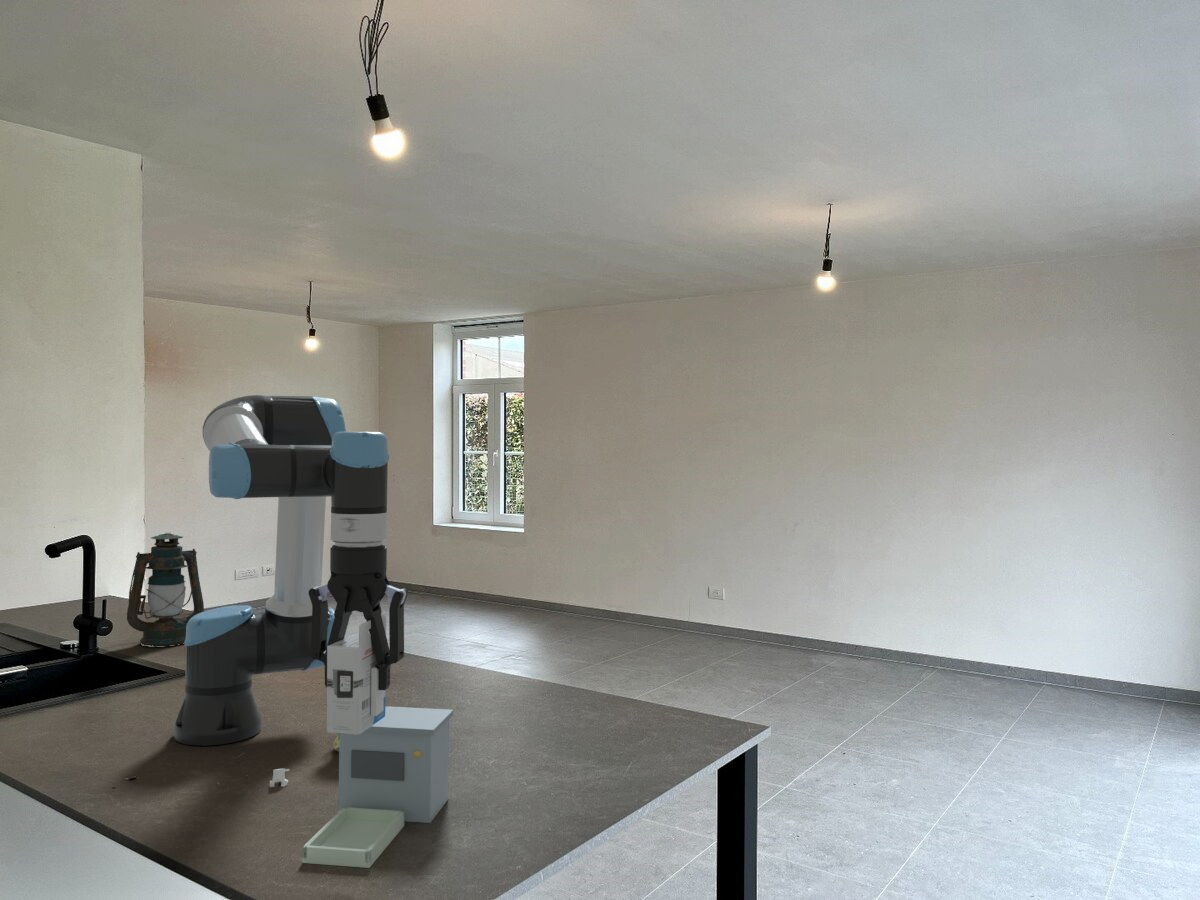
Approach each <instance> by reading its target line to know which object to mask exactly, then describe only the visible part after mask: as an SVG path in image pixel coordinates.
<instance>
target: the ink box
mask: <svg viewBox="0 0 1200 900" xmlns="http://www.w3.org/2000/svg"><path fill="white" fill-rule="evenodd" d="M381 617H382V621H383V625H384V629H385V633H386V634H387V615H386V614H385V613H383V614H381ZM370 628H371V620H369V621H365V622H362V623H360V624H359V626H358V632H356V633H353V634H352V635H350V636H347V637H344V639H343V640H340V641H338V642H336V643H334V644H331V645H329V646H327V688H326V732H327V733H331V734H332V733H333V734H337V733H343V734H355V735H358V734H361V733H362V732H364V731H365V730H367V729H368V728H370V727H371V726H372V725H374V724H375V723H377V722H378V721H379V720H381V719H382V718H384V717H385V706H386V696H387V695H386V694H387V693H386V692H387V691H386V690H387V689H386V690H384V710H383V711H382V712H381V713H380V714H378V715H377V716H371V668H372V667H374V666H375V665H377V662H376V658H375V654H374V650H373V646H372V642H371V634H370V633H369V629H370Z"/></svg>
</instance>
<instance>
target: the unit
mask: <svg viewBox="0 0 1200 900" xmlns="http://www.w3.org/2000/svg"><path fill="white" fill-rule="evenodd" d="M453 716H454V709H448V708H446V709H445V708H430V707H429V708H428V707H427V708H423V707H408V706H406V707H405V706H387V705H385V717H384V718H382V719H381V720H379V721H378V722H377V723H375V724H374V725H372V726H371V727H370V728H368V729H367V730H365V731H364V732H362V733H361V734H358V735H355V734H343V733H339V751H338V812H339V811H340V810H341V809H342V808H343V807H352V808H367V809H382V810H396V811H404V822H409V823H424V824H431V823H432V821H433V820H434V819H435V817H436V816H437V815H438V813H439V812H440V811H441V810H442V808H443V807H444V805H445V804H446V803H447V802H448V800H449V790H450V789H449V788H450V786H449V785H450V782H449V780H450V777H449V776H450V773H449V771H450V767H449V765H450V719H451V718H452V717H453Z"/></svg>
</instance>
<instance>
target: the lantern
mask: <svg viewBox="0 0 1200 900" xmlns="http://www.w3.org/2000/svg"><path fill="white" fill-rule="evenodd" d="M182 538H184V536H182V535H178V534H173V533H171V532H165V533H163V534H158V535H155V536H151V537H150V539H153V540H155V542H154V544H153V545H154V546H152V547H150V552H146V553H140V551H137V554H136V556H135V558H136V560H135V564H134V568H133V570H132V571H133V572H132V576H131V581H130V586H129V592H128V606H127V610H126V621H127V622H128V625H129V626H130V627H131V628H132V629H134V630H136V631H139V632H142V634H143V635H142V637H141V638H140V641H139V644H140V643H142V644H144V645H151V646H152V645H153V646H170V645H178V644H183V643H184V642H185V640H186V626H187V623H188V621H189V620H190V619H191V618H192V617H193V616H195V615H197V614H199V613H201V612H204V611H205V607H204V606H205V605H204V599H203V598H204V597H203V593H202V587H201V583H200V576H199V568H198V561H197V553H198V552H197V551H196V549H195V548H192V549H191V550H183V546H181V545H180V542H179V539H182ZM167 540H168V541H167ZM185 562H186V565H185ZM147 565H148V566H147ZM183 568H187V573H188V579H189V584H190V585H189V587H190V593H189V597H188V600H187V601H186V603H185V598H186V589H187V586H185V585H186V584H185V583H186V580H185V575H183V574H182V569H183ZM146 570H151V572H152V575H150V576H149V577H148V579H147V580H148V581H147V585H148V588H146V591H147V595H144V594H143V595H142V592H143V586H144V580H145V575H146ZM191 597H192V602H193V603H192V604H193V612H189V613H184V612H183V611H184V610H183V608H184V607H185V606H186V605H187V604H188V603H189V602H190V601H191ZM146 598H147V605H148V607H149V611H146V610H145V604H146V603H145V602H146ZM143 614H144V617H145V619H147V620H148V619H149V620H150V619H151V618H156V619H157V620H155V621H152V622H151V621H149V622H148V621H144V620H142V619H140V618H139V617H138V615H139V616H143ZM147 614H149V616H148V617H147ZM179 616H183V617H181V618H177V617H179Z"/></svg>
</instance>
